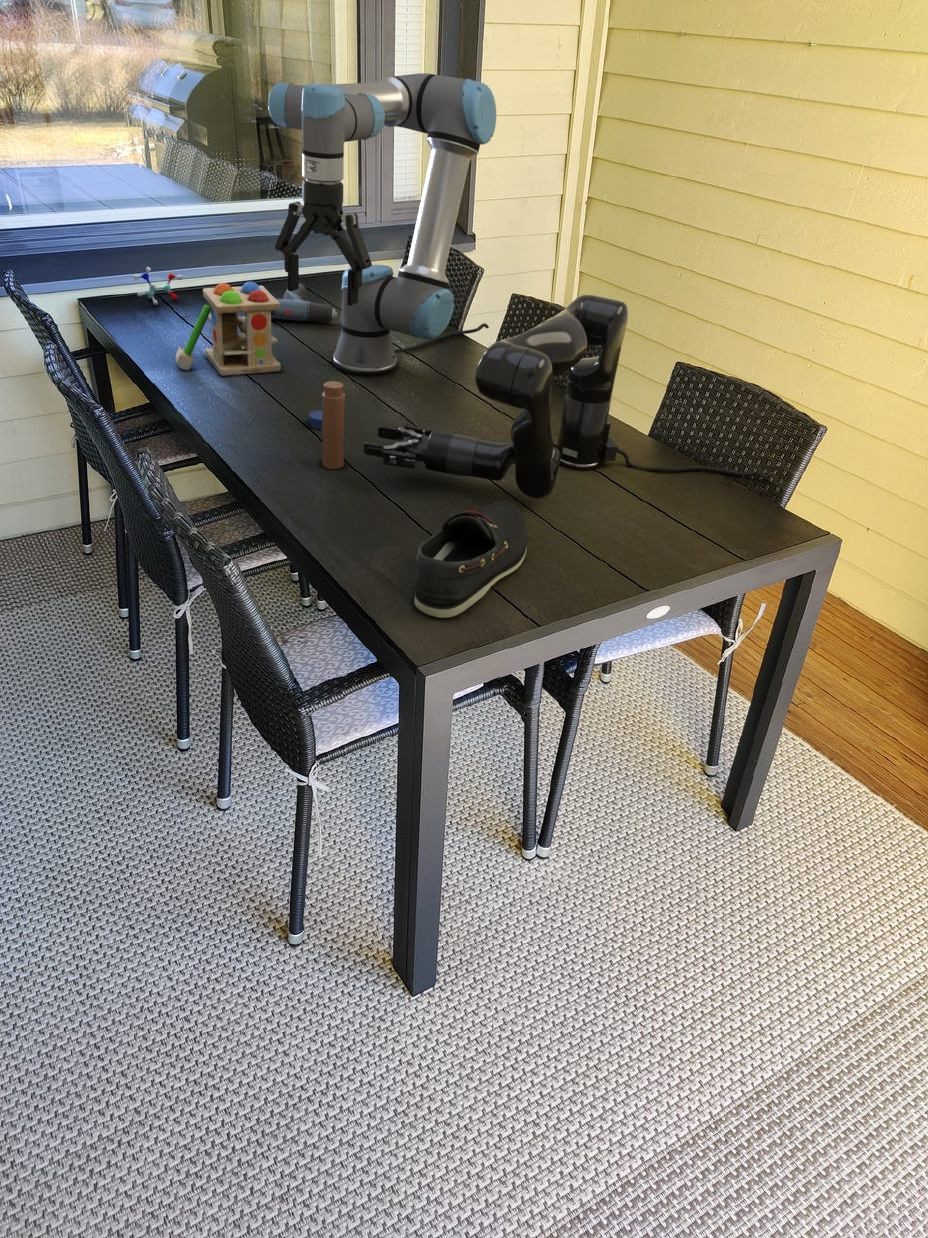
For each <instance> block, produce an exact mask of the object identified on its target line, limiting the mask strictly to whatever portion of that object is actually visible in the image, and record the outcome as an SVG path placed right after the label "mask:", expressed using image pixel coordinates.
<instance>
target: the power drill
mask: <svg viewBox="0 0 928 1238" xmlns="http://www.w3.org/2000/svg"><path fill="white" fill-rule="evenodd" d="M307 295H308V290H307V287H306V285H304V284H303V283H301V282H299V289H297V290H294V291H292V292H290V291H288V288H287V289H286V291H285V292H284V294H283V297H282V298H275V299H276V300H277V301H278V302H279V303H280V310H271V319H274V320H275V319H276V320H283V321H294V322H295V321H297V322H332V321H333V320H334V319H336V318H337V317H338V312H337V311H336V308H334V307H333V306H332V305H331V304H324V303H317V302H313V301H307V300H305V299H306V297H307Z"/></svg>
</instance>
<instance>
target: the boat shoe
mask: <svg viewBox="0 0 928 1238" xmlns="http://www.w3.org/2000/svg"><path fill="white" fill-rule="evenodd" d="M527 533H528V532H527V526H526V520H525V518H524V515H523V514H522V512H521V510H520V508H519V507H518V506H517V505H515V504H514V503H512V502H509V501H499V502H495V503H492V504H490V505H487V506H486V507H483V508H482V509H480V510H478V511H474V510H463V511H459V512H457V513H455V514H453V515H451V516H449V517H448V518H447V519H446V520H445V521H444V522H443V523H442V525H441V526H440V527H439V530H438V531H437V532H435V533H434V534H432V535H431V536H430V537H428V538H427V539H426V540H425V541H423V542H422V543H421V544H420V545H419V546H418V548H417V550H416V552H415V559H416V560H417V562H416V570H415V574H414V575H415V576H414V581H413V583H412V589H413V590H415V593H414V605H415V607H416V608H417V609H418V610H419V611H420V612H422V613H424V614H426V615H427V616H432V617H434V618H439V619H446V618H448V619H449V618H453V617H456V616H458V615H460V614H462V613H463V612H465V611H466V610H467V609H469V608H470V607H471V606H473V605H474V604H475V603H476V602H478V601H479V600H481V598H483V597H484V596H485V595H486V594H487V592H488V591H489V590H490V589H491V587H492V586H494V585H495V584H496V583H497V582H498V581H499V580H501V579H503V578H504V577H506V576H508V575H510V574H511V573H513V572H514V571H516V570H517V569H518V568H519V567H520V566H521V565H522V564H523V562H524V560H525V558H526V555H527V550H528V548H527V547H528V534H527Z"/></svg>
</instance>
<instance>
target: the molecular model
mask: <svg viewBox="0 0 928 1238" xmlns="http://www.w3.org/2000/svg"><path fill="white" fill-rule="evenodd" d="M151 271H152V269H151V268H150V267H149V266H147V267H146V268H145V272H143V274H142V275H141V274H140V275H138V274H134V275H133V279H134V280H138V279H143V280H145V281H146V282H147V284H148V285H149V288H148V289H147V290H146V291H145V292H141V291H138V292H137V294H136V295H137V297H143V296H147V298H148V299H151V300H152V303H153V305H154V306H158V304H159V302H158V301H157V300H156V298H155V297H154V294H155V292H157V291H161V290H164V291H165V292H167V293H168V295H169V296H170V298H171V299H172V301H177V300H178V295H177V294H175V293H174V292H173V290H172V289H171V286H170V284H171V281H172V280H173V279H177V280H180V281H181V280H183V275H181V274H178V275H174V274H173V273H171V272H170V273H168V274H167V278H168V280H167V283H166V284H164V285H163V286H156V284H155V283H151V281H150V275H149V273H150V272H151Z"/></svg>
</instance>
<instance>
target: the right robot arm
mask: <svg viewBox="0 0 928 1238" xmlns="http://www.w3.org/2000/svg"><path fill="white" fill-rule="evenodd" d="M628 320H629V309H628V305H627V303H625V302H624V301H621V300H618V299H613V298H608V297H603V296H599V295H593V294H581V295H580V296H578V297H576V298H575V299H573V301H571V302H570V303H569V304H568V305H567V306H566V307H565V308H564V309H563V310H562V311H560V312H559V313H557V314H556V315H554V316H552V317H549V318H548V319H546V320H544V321H542V322H540V323H539V324H537V325H536V326H535V327H533V328H530V329H529V330H526V331H524V332H522V333H520V334H518V335H515V336H512V337H508V338H504V339H500V340H497V341H495V342H494V343H492V344H491V345H489V346H488V348H486V350H485V351H484V352H483V353H482V355H481V357H480V359H479V361H478V363H477V365H476V369H475V374H474V375H475V376H474V380H475V386H476V388H477V390H478V392H479V393H480V394H481V395H482V396H483V397H485V398H486V399H488V400H491V401H492V402H497V403H499V404H503V405H506V406H510V407H513V408H516V409H521V410H522V411H521V412H520V413H519V414H518V415H517V416H516V417H515V419H514V420H513V422H512V424H511V429H510V437H511V438H510V439H511V442H495V441H490V440H483V439H478V438H475V437H472V436H468V435H463V434H458V433H452V432H447V431H446V432H445V431H440V430H433V429H432V428H427V427H422V426H419V425H418V426H417V425H414V424H413V425H412V424H404V425H403V426H399V427H392V426H385V425H379V427H378V428H377V436H378V438H381V439H385V440H391V441H396V442H395V443H394V444H391V445H384V444H380V443H374V442H369V441H367V442H365V443H364V444H363V454H364V455H366V456H372V457H378V458H382V464H383V465H386V466H391V467H398V468H405V469H411V470H413V469H415V465H416V462H423V463H424V466H425V468H426V470H428V471H432V472H438V473H442V474H443V473H444V474H448V475H452V476H460V477H470V478H471V477H472V478H479V479H484V480H489V481H496V482H499V481H502V480H503V479H504V478H505V476H506V475H507V473H508V471H509V470H510V468H511V467H512V466H513V465H515V467H514V468H515V469H514V471H515V474H514V475H515V483H516V486H517V488H518V490H519V491H520V492H521V493H522V494H523V495H524V496H526V497H528V498H530V499H534V500H535V499H536V500H537V499H543V498H546V497H547V496H549V495H550V494H551V493H552V492H553V490H554V488H555V486H556V485H555V484H556V479H557V475H558V473H559V467H560V464H561V465H562V466H565V467H567V468H571V469H575V470H592V469H595V468H598V467H602V466H604V465H605V462H615V461H616V458H617V454H620V455H621V456H623V457H624V461H625V464H626V465H627V466H629V467H630V468H632V469H635V470H640V471H645V472H667V473H668V472H669V473H670V472H671V473H672V472H673V473H675V472H685V471H707V472H716V473H720V474H725V475H731V476H737V477H757V476H756V475H757V474H755V472H756V471H737V470H731V469H726V468H719V467H713V466H707V465H705V466H704V465H687V466H678V467H666V466H657V467H655V466H654V467H653V466H652V467H651V466H650V467H649V466H648V467H647V466H639V465H638V464H637V465H636V464H634V463H633V462H631V461H630V457H629V455H628V453H627V452H626V451H624V450H622V449H620V448H619V446H617V444H616V443H615V442H614V440H613V439H612V437H610V431H611V424H612V423H611V421H610V419H609V413H610V407H611V403H612V396H613V391H614V385H615V381H616V376H617V371H618V366H619V363H620V362H619V361H620V356H621V351H622V346H623V342H624V338H625V334H626V331H627V326H628V325H627V324H628ZM588 347H591V348H595V349H599V350H600V354H599V355H596V356H593V357H585V358H584V356H585V354H586V352H587V349H588ZM566 372H567V379H566V386H565V393H564V399H563V406H562V413H561V420H560V424H559V425H560V426H559V431H558V432H559V433H558V439H557V446H556V445H555V444H554V441H553V436H552V435H553V434H552V430H551V416H552V415H551V414H552V403H553V388H554V387H553V386H554V377H556V376H559V375H561V374H564V373H566ZM758 477H759V478H761V479H763V480H765V482H767V483H769V484H772V483H773V481H772V480H771V478H770V479H768V478H767V477H761V476H758Z"/></svg>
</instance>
